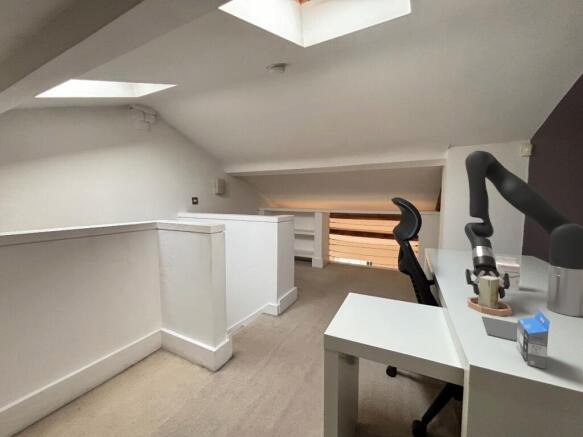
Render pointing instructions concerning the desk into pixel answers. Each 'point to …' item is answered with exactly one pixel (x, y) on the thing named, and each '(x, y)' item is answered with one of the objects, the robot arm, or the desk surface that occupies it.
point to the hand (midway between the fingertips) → (489, 295)
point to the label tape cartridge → (533, 340)
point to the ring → (501, 312)
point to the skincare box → (488, 292)
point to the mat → (500, 328)
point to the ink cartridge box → (509, 270)
